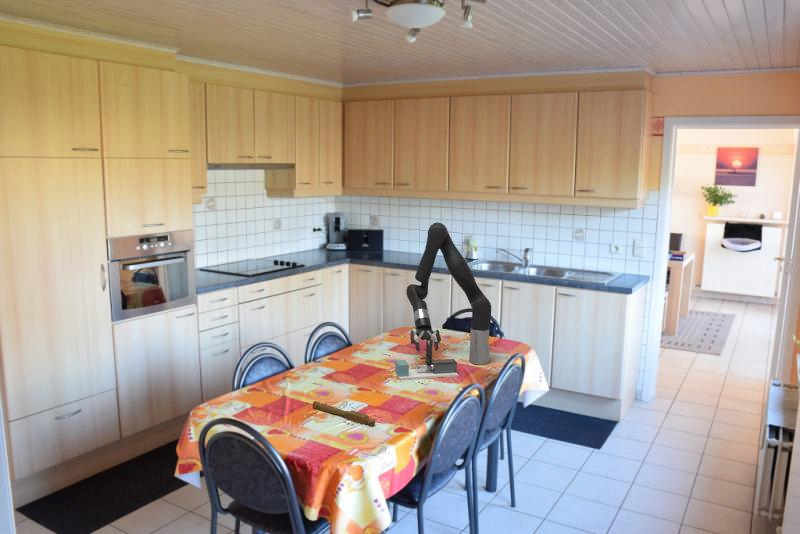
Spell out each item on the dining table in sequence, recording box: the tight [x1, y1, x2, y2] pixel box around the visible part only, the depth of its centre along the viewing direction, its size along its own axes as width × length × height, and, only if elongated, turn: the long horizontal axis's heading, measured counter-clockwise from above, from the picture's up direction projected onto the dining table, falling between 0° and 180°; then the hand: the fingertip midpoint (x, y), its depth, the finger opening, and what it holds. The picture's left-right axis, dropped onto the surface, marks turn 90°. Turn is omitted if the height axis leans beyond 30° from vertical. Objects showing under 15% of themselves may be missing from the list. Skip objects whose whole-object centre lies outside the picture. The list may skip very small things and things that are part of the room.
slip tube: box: [415, 339, 434, 371], centre depth 300 cm, size 17×4×15 cm, turn 103°
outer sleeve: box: [431, 358, 458, 374], centre depth 302 cm, size 11×5×5 cm, turn 103°
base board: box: [393, 368, 460, 381], centre depth 300 cm, size 28×11×1 cm, turn 103°
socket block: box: [394, 359, 410, 377], centre depth 297 cm, size 4×8×5 cm, turn 13°
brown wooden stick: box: [311, 400, 376, 426], centre depth 249 cm, size 3×3×30 cm
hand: (427, 350), depth 300 cm, fingers open, 8 cm apart
